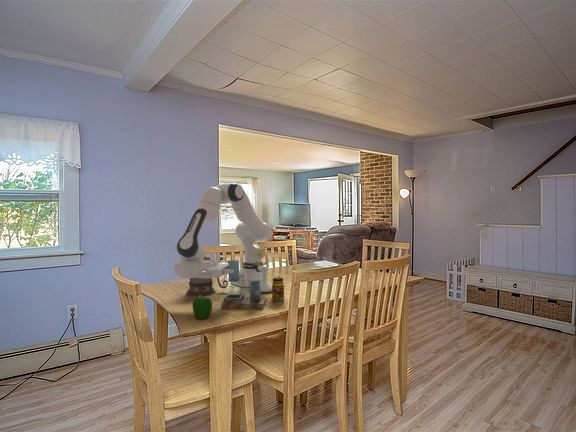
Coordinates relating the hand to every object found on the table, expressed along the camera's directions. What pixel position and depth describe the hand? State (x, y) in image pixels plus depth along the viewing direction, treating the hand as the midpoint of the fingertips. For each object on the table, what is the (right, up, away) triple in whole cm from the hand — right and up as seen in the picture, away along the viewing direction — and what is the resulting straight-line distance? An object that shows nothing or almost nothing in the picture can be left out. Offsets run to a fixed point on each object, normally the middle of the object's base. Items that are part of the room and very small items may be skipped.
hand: (235, 269), depth 162 cm
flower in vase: (+11, -17, +29) cm, 36 cm away
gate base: (+4, -18, 0) cm, 18 cm away
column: (-1, -6, 0) cm, 6 cm away
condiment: (+20, -18, +8) cm, 28 cm away
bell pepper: (-12, -18, -18) cm, 28 cm away
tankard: (-20, -18, +27) cm, 38 cm away
